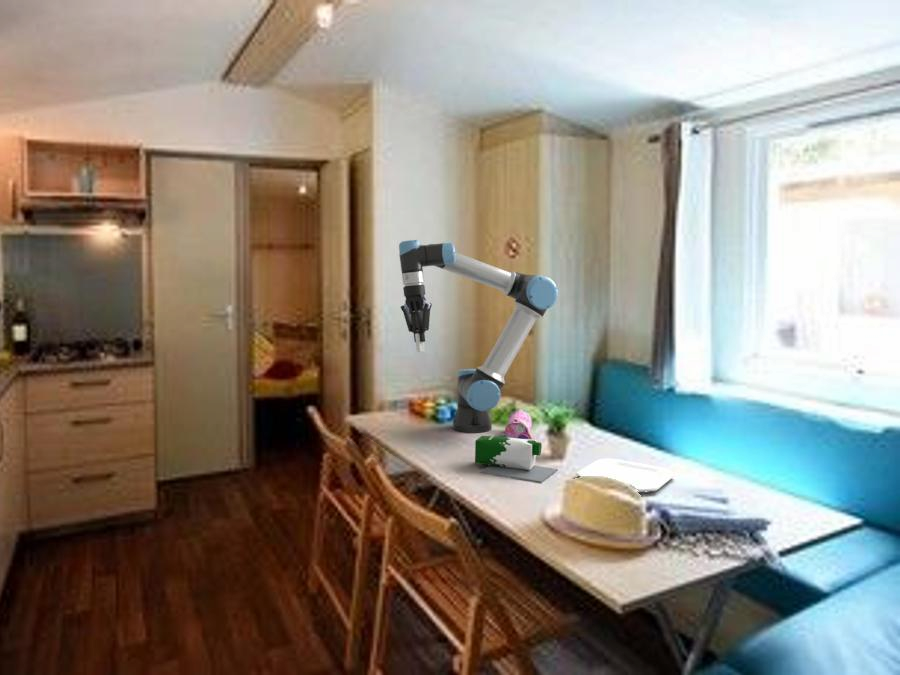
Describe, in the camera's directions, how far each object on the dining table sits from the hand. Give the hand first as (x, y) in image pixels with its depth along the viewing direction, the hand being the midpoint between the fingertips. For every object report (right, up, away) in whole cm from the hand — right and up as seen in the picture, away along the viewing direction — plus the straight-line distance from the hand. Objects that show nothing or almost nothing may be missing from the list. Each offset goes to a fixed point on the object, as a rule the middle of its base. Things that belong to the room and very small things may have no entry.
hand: (421, 351), depth 249 cm
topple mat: (+32, -37, -31) cm, 57 cm away
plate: (+63, -38, -36) cm, 82 cm away
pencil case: (+35, -32, +10) cm, 49 cm away
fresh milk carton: (+19, -31, -24) cm, 44 cm away
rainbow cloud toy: (+35, -35, -11) cm, 51 cm away
